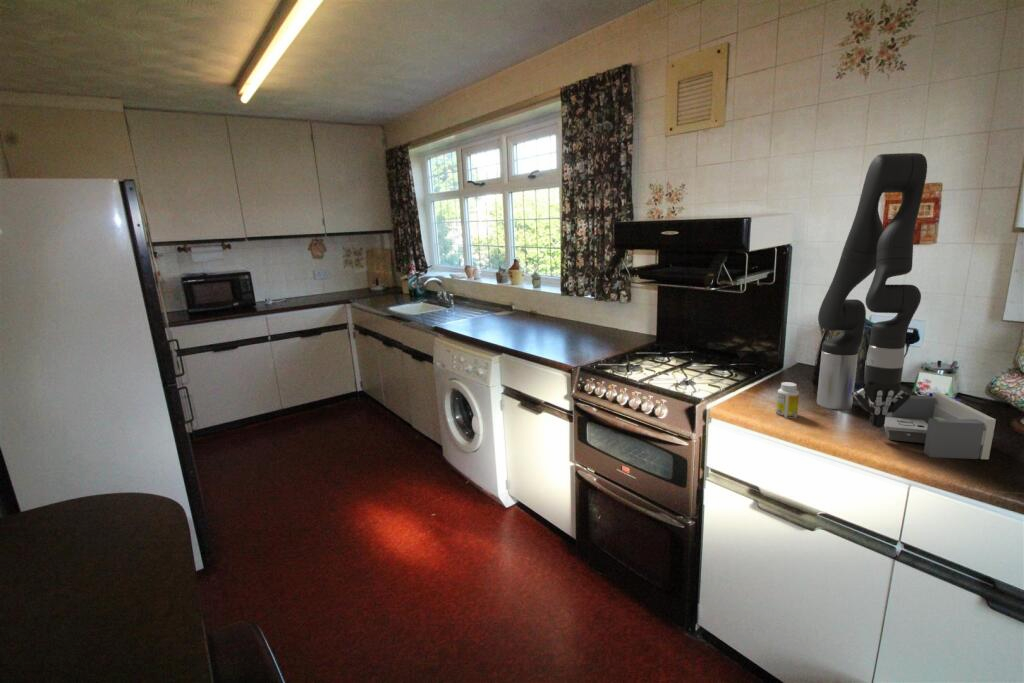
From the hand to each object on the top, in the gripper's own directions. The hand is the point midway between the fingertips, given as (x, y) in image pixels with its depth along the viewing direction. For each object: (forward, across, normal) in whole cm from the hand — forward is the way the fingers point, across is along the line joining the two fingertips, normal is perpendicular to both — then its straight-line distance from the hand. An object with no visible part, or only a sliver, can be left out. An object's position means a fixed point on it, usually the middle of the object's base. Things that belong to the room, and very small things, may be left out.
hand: (876, 426), depth 125 cm
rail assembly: (+4, -13, 0) cm, 13 cm away
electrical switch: (+4, -12, 0) cm, 13 cm away
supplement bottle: (+4, +16, -16) cm, 23 cm away
